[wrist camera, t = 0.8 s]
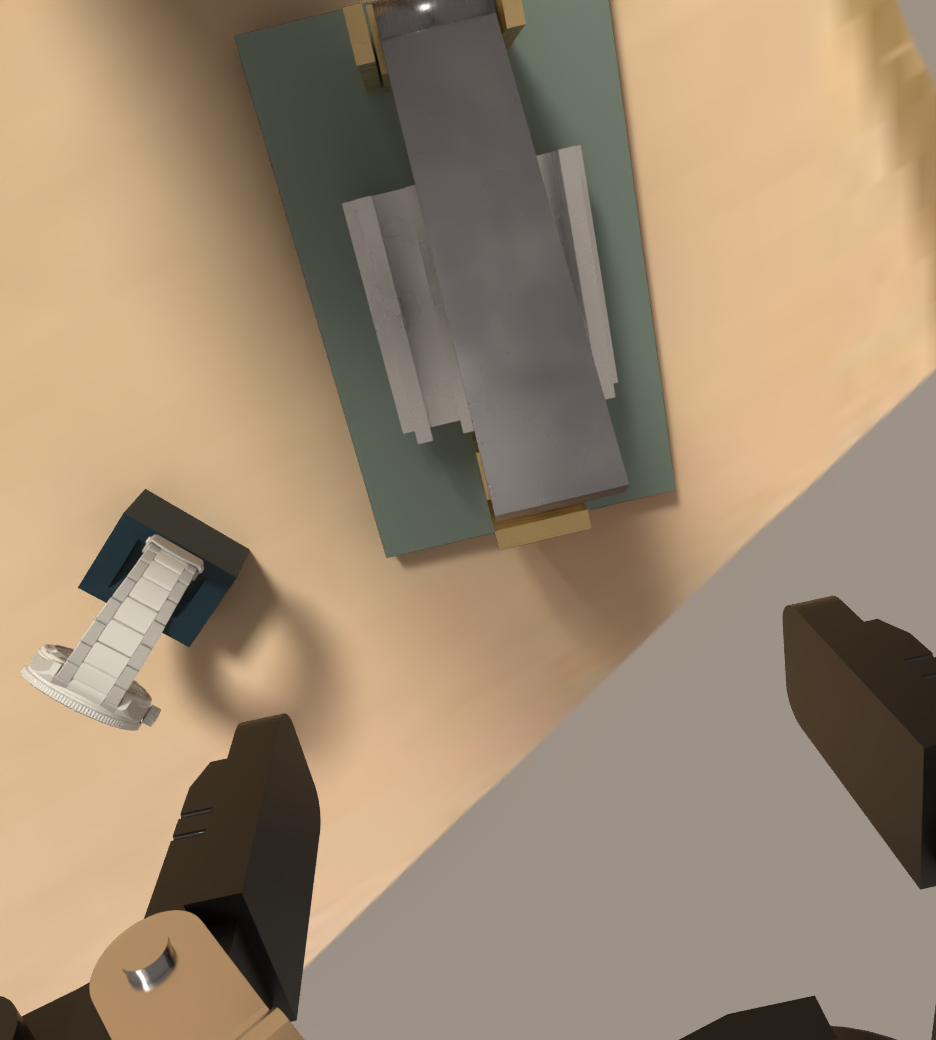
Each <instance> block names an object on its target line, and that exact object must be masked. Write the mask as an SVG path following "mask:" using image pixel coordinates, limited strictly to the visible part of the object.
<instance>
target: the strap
mask: <svg viewBox="0 0 936 1040" xmlns="http://www.w3.org/2000/svg"><path fill="white" fill-rule="evenodd" d="M372 7H373V12H374V16H375V21H376V25H377V29H378V34H379V38H380V42H381V46H382V51H383V55H384V59H385V62H386V66H387V71H388V75H389V79H390V83H391V87H392V91H393V96H394V100H395V104H396V108H397V112H398V116H399V120H400V125H401V129H402V133H403V137H404V141H405V145H406V150H407V154H408V158H409V162H410V166H411V170H412V174H413V179H414V183H415V187H416V191H417V195H418V199H419V204H420V208H421V212H422V216H423V220H424V224H425V229H426V233H427V237H428V241H429V245H430V249H431V253H432V258H433V262H434V266H435V270H436V274H437V278H438V283H439V287H440V291H441V295H442V299H443V303H444V307H445V312H446V316H447V320H448V324H449V328H450V332H451V337H452V341H453V345H454V349H455V353H456V357H457V361H458V366H459V370H460V374H461V378H462V382H463V386H464V391H465V395H466V399H467V403H468V407H469V411H470V415H471V420H472V424H473V428H474V432H475V436H476V440H477V445H478V449H479V453H480V457H481V461H482V465H483V469H484V474H485V478H486V482H487V486H488V490H489V494H490V499H491V503H492V507H493V511H494V515H495V519H496V523H497V522H501V521H505V520H509V519H514V518H518V517H522V516H526V515H530V514H535V513H539V512H543V511H547V510H552V509H556V508H560V507H564V506H568V505H573V504H577V503H581V502H585V501H590V500H594V499H598V498H602V497H606V496H611V495H615V494H619V493H623V492H626V490H627V488H628V486H629V482H628V479H627V475H626V472H625V468H624V464H623V461H622V457H621V454H620V450H619V447H618V443H617V440H616V436H615V433H614V429H613V426H612V422H611V418H610V415H609V411H608V408H607V404H606V401H605V397H604V394H603V390H602V387H601V383H600V380H599V376H598V373H597V369H596V365H595V362H594V358H593V355H592V351H591V348H590V344H589V341H588V337H587V334H586V330H585V327H584V323H583V319H582V316H581V312H580V309H579V305H578V302H577V298H576V295H575V291H574V288H573V284H572V281H571V277H570V273H569V270H568V266H567V263H566V259H565V256H564V252H563V249H562V245H561V242H560V238H559V235H558V231H557V227H556V224H555V220H554V217H553V213H552V210H551V206H550V203H549V199H548V196H547V192H546V189H545V185H544V181H543V178H542V174H541V171H540V167H539V164H538V160H537V157H536V153H535V150H534V146H533V143H532V139H531V135H530V132H529V128H528V125H527V121H526V118H525V114H524V111H523V107H522V104H521V100H520V97H519V93H518V89H517V86H516V82H515V79H514V75H513V72H512V68H511V65H510V61H509V58H508V54H507V51H506V47H505V44H504V40H503V36H502V33H501V29H500V26H499V22H498V19H497V15H496V11H495V5H494V0H380V1H376V2H372Z"/></svg>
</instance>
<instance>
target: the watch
mask: <svg viewBox="0 0 936 1040" xmlns="http://www.w3.org/2000/svg"><path fill="white" fill-rule="evenodd" d="M248 551H249V549H248V548H246V547H244V546H242V545H241V544H239V543H237V542H235V541H234V540H232V539H230V538H229V537H227V536H225V535H223V534H222V533H220V532H218V531H217V530H215V529H213V528H211V527H210V526H208V525H206V524H205V523H203V522H201V521H199V520H198V519H196V518H194V517H193V516H191V515H189V514H187V513H186V512H184V511H182V510H181V509H179V508H177V507H175V506H174V505H172V504H170V503H169V502H167V501H165V500H163V499H162V498H160V497H158V496H157V495H155V494H153V493H151V492H150V491H148V490H146V489H145V490H144V491H143V492H142V493H141V494H140V495H139V497H138V498H137V499H136V500H135V501H134V502H133V503H132V504H131V505H130V507H129V508H128V509H127V510H126V511H125V512H124V513H123V515H122V517H121V518H120V520H119V521H118V523H117V525H116V526H115V528H114V530H113V531H112V533H111V535H110V536H109V538H108V539H107V541H106V543H105V544H104V546H103V548H102V549H101V551H100V552H99V554H98V556H97V557H96V559H95V561H94V562H93V564H92V565H91V567H90V569H89V570H88V572H87V574H86V575H85V577H84V578H83V580H82V582H81V583H80V585H79V587H78V588H80V589H82V590H83V591H85V592H87V593H89V594H91V595H93V596H95V597H97V598H98V599H100V600H102V601H104V602H106V605H105V606H104V607H103V609H102V610H101V611H100V613H99V614H98V616H97V617H96V619H98V620H99V621H98V620H96V619H95V621H94V622H93V623H92V625H91V626H90V628H89V629H88V630H87V632H86V633H85V635H84V636H83V637H82V639H81V641H80V642H79V644H78V645H77V647H76V648H75V649H72V648H67V647H63V646H59V645H44V646H42V647H41V648H39V650H38V651H37V653H36V654H35V655H34V657H33V658H32V660H31V661H30V663H29V665H26V666H25V667H24V668H23V670H22V671H21V674H22V676H23V677H24V678H25V679H26V680H27V681H28V682H29V683H30V684H31V685H33V686H34V687H35V688H37V689H38V690H40V691H41V692H43V693H44V694H46V695H47V696H49V697H51V698H52V699H54V700H56V701H58V702H60V703H61V704H63V705H65V706H67V707H69V708H71V709H72V710H73V711H75V712H79V713H81V714H83V715H86V716H88V717H90V718H92V719H95V720H97V721H100V722H102V723H105V724H108V725H110V726H114V727H117V728H120V729H125V730H138V729H139V727H140V726H141V724H142V723H144V724H146V725H148V726H150V727H151V726H152V725H153V723H154V722H155V721H156V719H157V717H158V716H159V714H160V711H161V709H160V708H158V707H156V706H154V705H152V706H151V701H152V699H151V697H150V695H149V694H148V693H147V691H146V690H145V689H144V688H143V687H142V686H140V685H139V684H138V683H137V682H136V681H134V678H135V676H136V675H137V673H138V671H139V670H140V669H141V667H142V665H143V664H144V662H145V660H146V658H147V657H148V655H149V653H150V652H151V650H152V649H151V648H153V647H154V646H155V644H156V642H157V640H158V639H159V637H160V635H161V633H164V634H166V635H168V636H170V637H171V638H173V639H175V640H177V641H179V642H181V643H183V644H184V645H186V646H188V647H190V645H191V644H192V643H193V641H194V640H195V638H196V637H197V635H198V634H199V632H200V631H201V629H202V628H203V626H204V625H205V623H206V622H207V620H208V619H209V617H210V616H211V615H212V613H213V612H214V610H215V609H216V607H217V606H218V604H219V603H220V601H221V600H222V598H223V597H224V595H225V594H226V592H227V591H228V590H229V588H230V587H231V585H232V584H233V582H234V581H235V579H236V578H237V576H238V574H239V571H240V569H241V567H242V565H243V562H244V560H245V558H246V556H247V553H248ZM116 612H117V613H116ZM115 619H116V620H115ZM100 621H101V622H100ZM148 629H149V630H148ZM103 630H104V631H103ZM148 646H149V647H148ZM150 647H151V648H150ZM137 648H138V649H137ZM150 706H151V707H150ZM149 707H150V708H149ZM142 719H143V721H142V723H141V720H142Z"/></svg>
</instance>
